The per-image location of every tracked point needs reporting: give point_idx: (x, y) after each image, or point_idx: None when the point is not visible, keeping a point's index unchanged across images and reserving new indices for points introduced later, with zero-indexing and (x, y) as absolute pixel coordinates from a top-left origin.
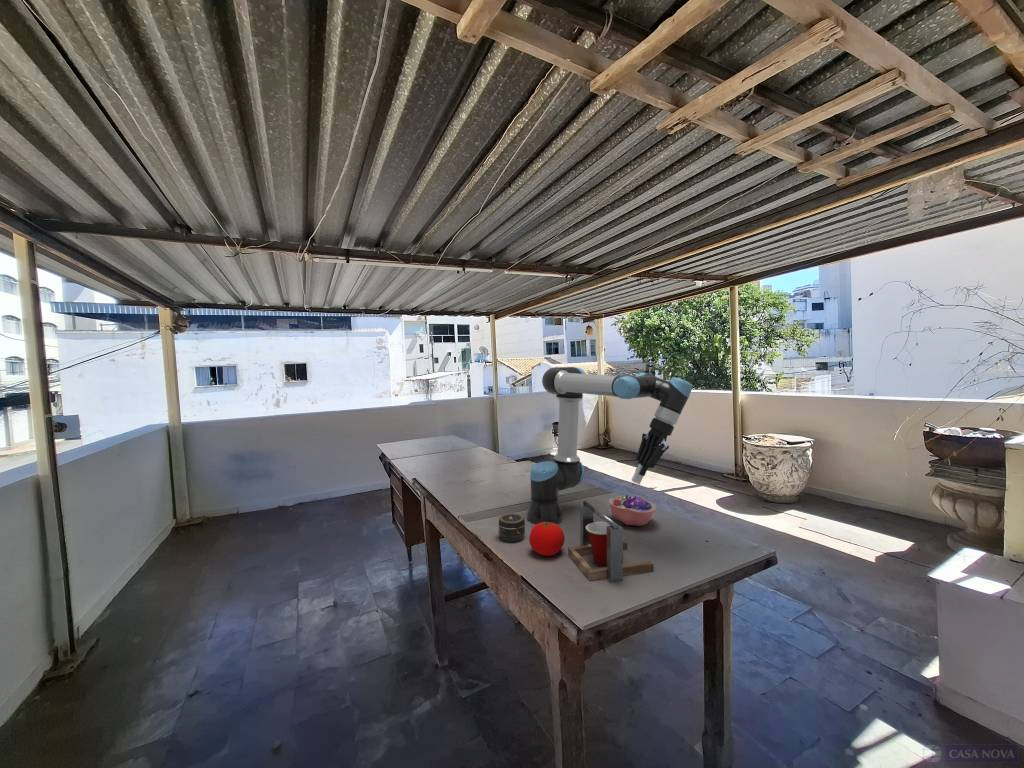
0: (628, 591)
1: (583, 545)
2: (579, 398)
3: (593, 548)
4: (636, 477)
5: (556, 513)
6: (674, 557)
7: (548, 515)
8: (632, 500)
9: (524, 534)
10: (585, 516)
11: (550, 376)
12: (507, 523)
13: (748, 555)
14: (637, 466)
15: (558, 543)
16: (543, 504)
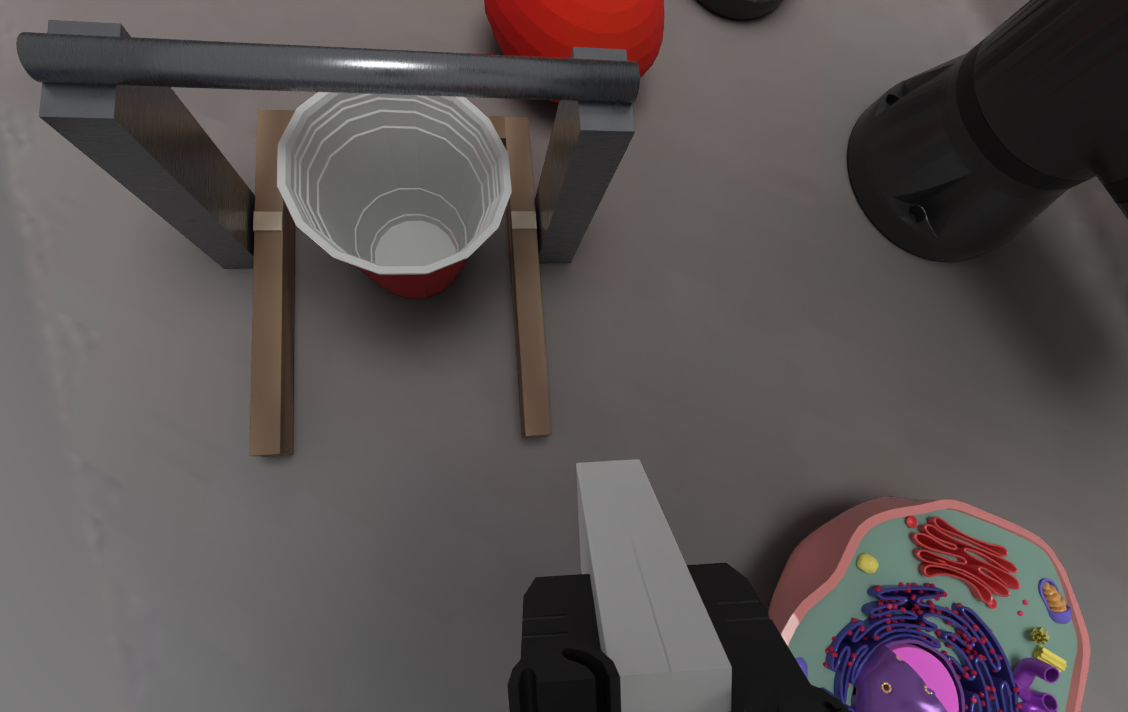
0: (131, 250)
1: (536, 195)
2: None
3: (392, 165)
4: (582, 515)
5: (908, 185)
6: (377, 656)
7: (887, 139)
8: (994, 697)
9: (722, 3)
10: (561, 115)
11: None
12: None
13: None
14: (767, 632)
15: (501, 35)
16: (948, 84)
